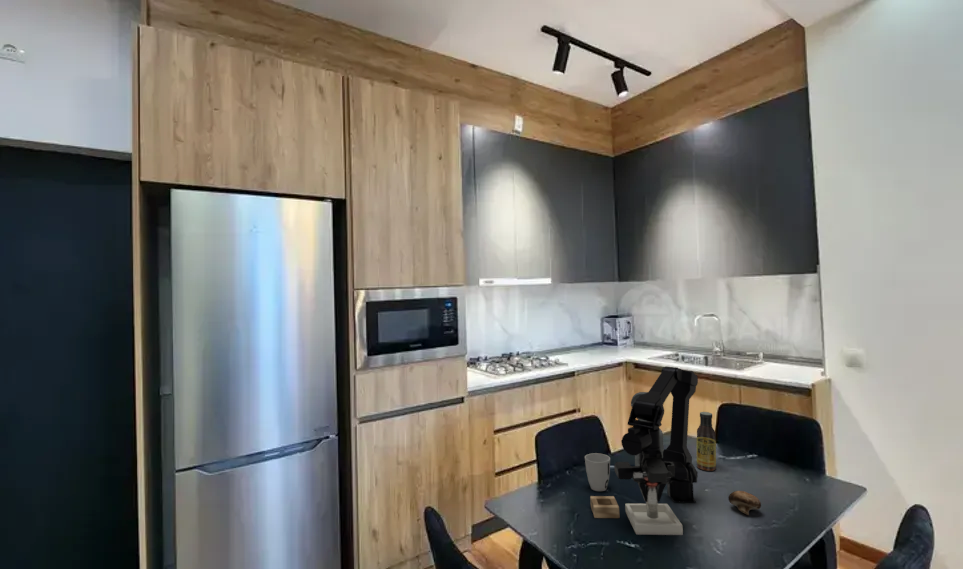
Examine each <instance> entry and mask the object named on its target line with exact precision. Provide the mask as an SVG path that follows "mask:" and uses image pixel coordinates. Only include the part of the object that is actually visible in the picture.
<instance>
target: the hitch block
mask: <svg viewBox="0 0 963 569" xmlns="http://www.w3.org/2000/svg"><path fill="white" fill-rule="evenodd" d="M589 498H590V499H589V500H590V508H591V511H592V513H593V514H592V515H593V517H594V519H620V506H619V504H618V502H617V500H616V498H615V496H614V495H608V496H607V495H605V496H604V495H595V496H594V495H590V497H589Z"/></svg>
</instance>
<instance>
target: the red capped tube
mask: <svg viewBox="0 0 963 569" xmlns="http://www.w3.org/2000/svg"><path fill="white" fill-rule="evenodd" d="M643 478H644V479H645V488H646V495H647V502H645V504H646V509H647V516H648V517H649V518H653V519H656V518H658V504H659V502H658V499H657V486H658V485H659V482H655V483H652V482H650V481H649V480H648V477H647V476H644V477H643Z"/></svg>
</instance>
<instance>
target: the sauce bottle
mask: <svg viewBox="0 0 963 569" xmlns="http://www.w3.org/2000/svg"><path fill="white" fill-rule="evenodd" d="M699 417H700V423H699V426H698V428H697V429H696V467H697V468H698V469H700V470H702V471H707V472H713V471H715V470H716V468H717V467H716V466H717V439H716V436H717V435H716V430H714V427H713V424H712V423H713V413H711V412H709V411H700V412H699Z"/></svg>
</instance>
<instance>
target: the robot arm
mask: <svg viewBox="0 0 963 569" xmlns="http://www.w3.org/2000/svg"><path fill="white" fill-rule="evenodd" d="M660 371H661V372H660V374H659V376H658V377H657V379H656V380H655V382H654V383H653V385H652V386H651V387H650V389H649V391H647V392H648V393H645V394H642V395H640V396H639V397H638V398H637V399H636V400H635V402H634V403H633V405H632V407H631V409H630V413H629V418H628V420H627V425H628V426H630V427H628V428H627V432H626V433H625V434H624V435H622V438H621V441H620V442H621V446H622V448H623V450H624V451H625V452H626V453H627V454H628V455H630V456H635V455H638V454H639V466H635V465H634V466H633V465H632V466H631V464H630V462H629V461H615V463H614V465H613V466H614V473H615V475H616V476H617V478H618V479H619V480H631V479H632V480H633V482H635V483H637V485H638V487H639V490H640V493H641V496H642V497H643V501H644V502H645V503H646V502H647V495H646V486H645V479H644V478H645V477H644V475H643V474H647V476H646V477H648V480H649V481H650V482H652V483H655V482H659V485H658V486H657V499H658V503H659V502H660V501H661V498H662V495H663V492H664V489H665V487H666V486H667V495H668V497H669V498H670V499H671V501H673V502H674V503H697V502H696V499H695V498H694V484H695V483H698V470H697V469H696V467H695V466H694V464H693V456H692V454H691V453H690V451H689V449H688V434H689V433H688V432H689V431H688V429H689V415H690V414H689V410H690V399H691V398H692V397H693V395H694V394H695V393H696V390H697V386H698V384H699V379H698V378H699V377H698V375H697V374H695V371H693V370H686V369H682V368H679V367H677V366H663V367H661V370H660ZM670 394H671V396H672V407H671V408H672V409H671V421H670V423H671V424H670V438H669V439H670V440H669V445H668V446H667V447H666V448H664V451H663V458H662V452H661V451H660V430H659V428H660V427H661V426H662V420H663V417H664V415H665V408H664V404H665V402H666V401H667V399H668V397H669V395H670ZM635 419H636V420H635ZM638 419H640V420H646V422H645V421H640V420H638Z"/></svg>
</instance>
